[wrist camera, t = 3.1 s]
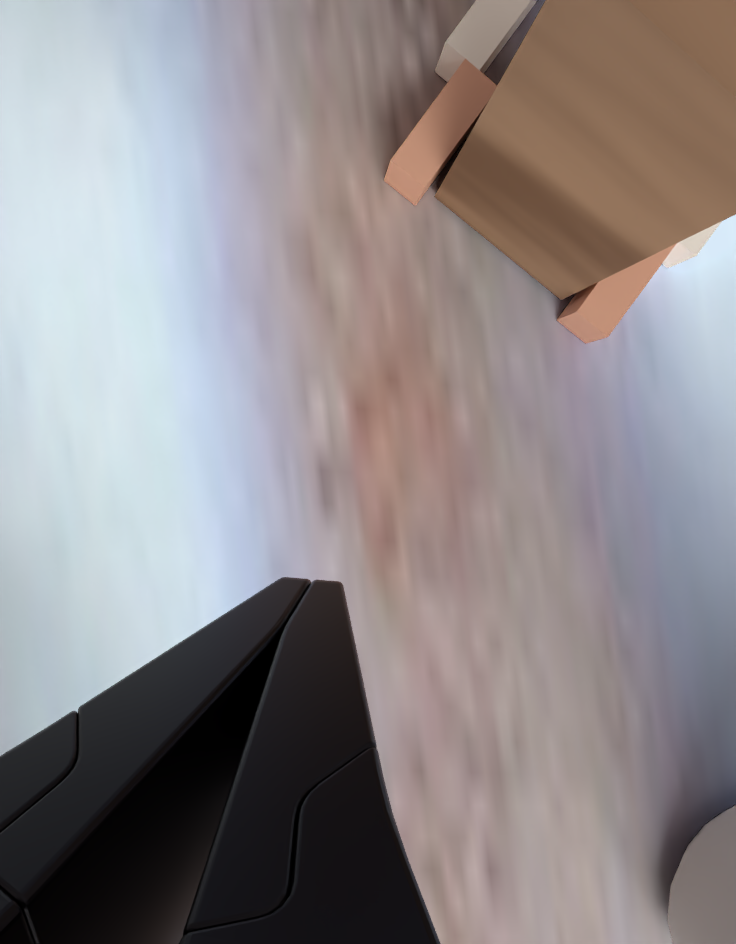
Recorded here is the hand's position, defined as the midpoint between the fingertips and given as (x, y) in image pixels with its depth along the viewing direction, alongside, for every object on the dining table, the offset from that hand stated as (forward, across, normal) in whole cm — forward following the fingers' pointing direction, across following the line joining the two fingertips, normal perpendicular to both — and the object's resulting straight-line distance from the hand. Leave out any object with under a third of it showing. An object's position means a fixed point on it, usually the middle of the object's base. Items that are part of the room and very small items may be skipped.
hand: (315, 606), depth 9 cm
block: (+15, -4, -5) cm, 16 cm away
